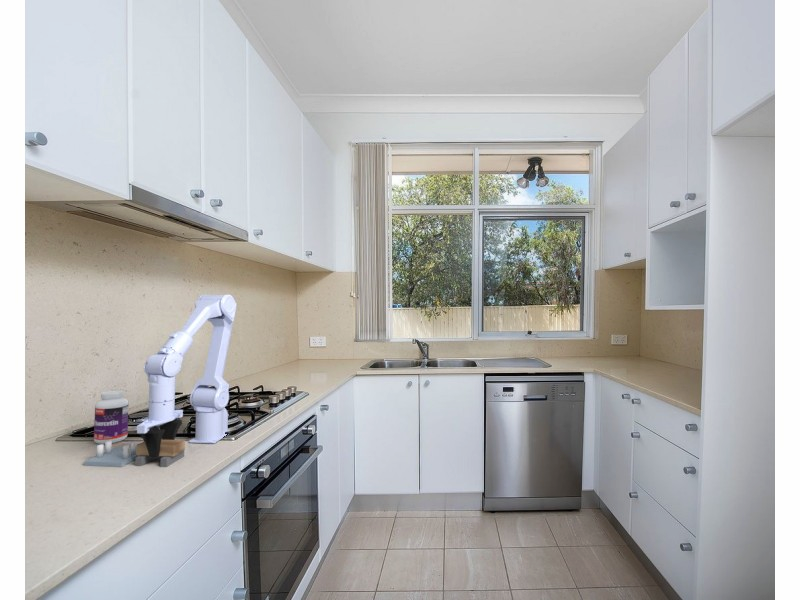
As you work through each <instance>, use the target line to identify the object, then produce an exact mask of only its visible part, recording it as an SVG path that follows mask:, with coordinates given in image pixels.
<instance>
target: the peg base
mask: <svg viewBox="0 0 800 600" xmlns="http://www.w3.org/2000/svg"><path fill="white" fill-rule="evenodd" d="M112 444H113V443H112V441H106V442H105V444H97V445H96V455H95V456H93V457H91V458H89V459H86V460H84V461H83V466H87V467H88V466H90V467H91V466H92V467H112V468H115V467H117V468H119V467H120V468H122V467H124V466H126V465H128V464H130V463H132V462H133V461H136V457H138V456H140V455H136V445H138V441H131V442H130V444H126V445H123V446H122V448H113V447H112V446H113V445H112Z"/></svg>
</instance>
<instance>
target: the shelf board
mask: <svg viewBox="0 0 800 600" xmlns="http://www.w3.org/2000/svg"><path fill="white" fill-rule="evenodd" d="M185 448H186V441H185V439H183V440H182V439H181V440H180V439H175V440H161V445H160V453H159V457H164V456H175V455H177V454H178V453H180V452H182V451H184V452H185V450H186V449H185ZM136 455H149V453H148V450H147V447H146V444H145V442H144V441H142V442H140V443H137V445H136Z"/></svg>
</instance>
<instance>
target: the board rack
mask: <svg viewBox="0 0 800 600" xmlns="http://www.w3.org/2000/svg"><path fill="white" fill-rule="evenodd" d="M159 457H160V456H158V457H149V455H140V456H138V457H136V460H135V466H137V467H142V466H144V465H146V464H147V463H149V462H151V461H153V460H155V459H156V458H159ZM184 457H185V450H184V451H182V452H180V453H178V454H177V455H175V456H162V457H161V458H160V468H163V467H165V468H166V467H169V466H170V465H173V464H174V463H175V462H177V461H178V460H180V459H183V458H184Z"/></svg>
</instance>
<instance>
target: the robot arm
mask: <svg viewBox="0 0 800 600" xmlns="http://www.w3.org/2000/svg"><path fill="white" fill-rule="evenodd" d="M237 305H238V304H237V302H236V300H235V298H234V297H233V296H232V295H231V294H201V295H200V296H199V297H198V298H197V300H195V302H194V310H193V312H192V313H191V314H190V316H189V317H188V319H187V321H186V322H185V324H183V327H182V328H181V330H177V331H174V332H173V333H170V335H169V336H168V337H169V338H168V339H167V340H166V342H165V343H164V344H163V345H162V347H161V348H159V350H158V351H157V352H156V353H154V354H151V356H149V357H148V358H147V359H146V361H145V364H144V365H143V371H144V373H145V374H146V377H147V381H148V385H149V386H148V387H149V388H148V389H149V390H148V392H149V393H148V416H145V418H144V421H142V422H141V423H140V424H137V426H136V434H138V435H139V436H140V437H141V438H142V439H143V442H145V444H146V447H147V450H148V453H149V457H157V458H159V457H160V456H159V453H160V445H161V440H176V436H177V434H178V431H179V429H180V427H181V426H182V424H183V420H182V419H181V418H182V417H183V416H184V413H183V412H184V409H176V408H175V401H176V400H175V398H176V375H177V374H178V373H179V372H180V371H181V369H182V362H183V361H184V357H185V355H186V354H187V352H188V351H189V350H190V349H191V347H192V345H193V344H194V338H193V337H194V336H195V335H196V334H197V332H198V331H199V330H200V329H201V328H202V327H203V325H204V324H205V323H206V322H207V321H208V322H209V323H211V324H212V326H213V328H212V334H211V337H210V338H211V339H210V343H209V348H208V351H207V357H206V362H205V367H204V372H203V376H202V377H201V378H199V379H198V380H196V381H195V384H194V386H193V389H192V391H191V393H190V395H189V403H190V406H192V407H193V410H194V411H195V437H193V438H191V439H189V440H188V443H189V444H190V443H193V444H194V443H195V444H216V443H218V442H219V441H220V440H222V439H224V438H225V437H227V436H228V435H227V434H225V432H226V431H228V429H229V428H228V425H229V423H228V422H229V420H228V419H229V414H228V413H229V412H228V410H227V409H226V408H225V407H226V406H228V403H229V400H230V393H229V392H230V391H229V390H230V388H229V387H230V384H229V383H228V382H227V381H226V380H225V379H224V374H225V367H226V363H227V356H228V351H229V346H230V340H231V337H232V332H233V331H232V330H233V325H234V321H235V316H236V315H235V314H236V310H237V307H238V306H237ZM178 418H179V419H178ZM228 432H229V431H228ZM226 435H227V436H226ZM224 436H225V437H224ZM223 437H224V438H223ZM158 456H159V457H158Z"/></svg>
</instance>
